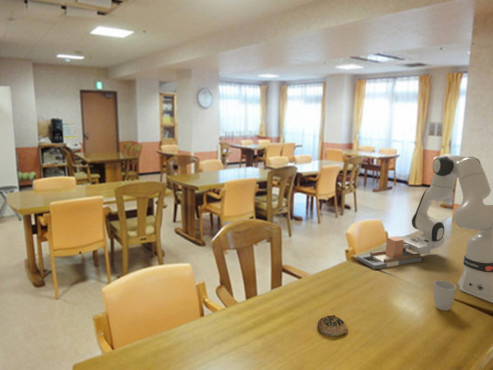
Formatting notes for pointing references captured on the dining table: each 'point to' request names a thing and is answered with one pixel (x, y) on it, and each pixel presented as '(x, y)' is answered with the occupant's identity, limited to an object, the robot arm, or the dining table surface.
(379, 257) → the tray
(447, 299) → the cup
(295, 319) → the dining table surface
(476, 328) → the dining table surface
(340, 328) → the bread roll
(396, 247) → the block
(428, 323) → the dining table surface
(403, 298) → the dining table surface
